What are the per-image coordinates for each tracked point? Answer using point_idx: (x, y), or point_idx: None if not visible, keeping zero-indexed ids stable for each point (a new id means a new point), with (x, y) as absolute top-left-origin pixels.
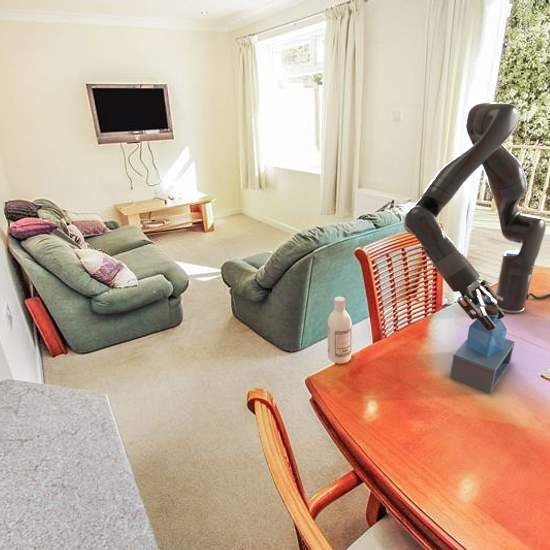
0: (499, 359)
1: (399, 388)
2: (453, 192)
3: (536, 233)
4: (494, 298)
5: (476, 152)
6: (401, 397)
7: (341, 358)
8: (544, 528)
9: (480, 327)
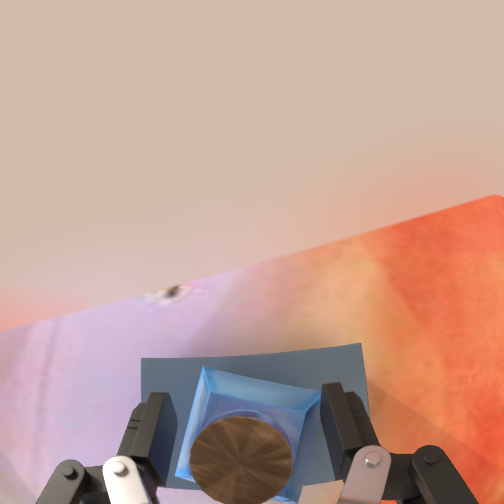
0: (292, 358)
1: None
2: None
3: None
4: (87, 478)
5: None
6: (477, 462)
7: None
8: (489, 196)
9: (306, 458)
